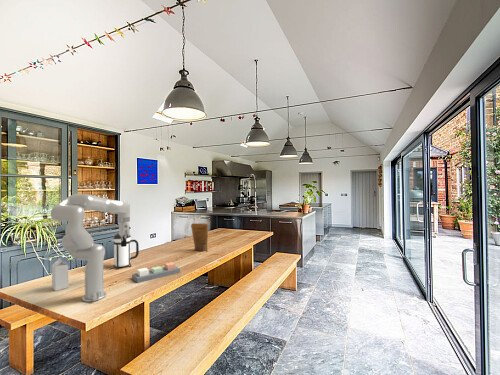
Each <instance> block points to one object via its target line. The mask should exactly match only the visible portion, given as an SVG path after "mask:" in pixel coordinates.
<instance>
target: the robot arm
mask: <svg viewBox="0 0 500 375" xmlns="http://www.w3.org/2000/svg"><path fill="white" fill-rule="evenodd" d="M130 206H131V204H130V203H129V202H128V201H127V202H125V201H121V200H118V199H117V200H116V199H110V198H105V197H100V196H96V195H92V194H90V193H89V194H87V193H82V194H81V193H78V194H75V193H74V194H72V195H70V196H67V197H66V198H64V199H63V200H62V201H60V202H59V203H57V204H56V205H54V206H53V207H52V208H51V209H50V217H51V219H52V220H54V221H58V222H67V224H66V226H65V230H64V232H65V235H63V237H62V239H61V245H62V248H63V250H64V251H66V252H67V254H69V255H70V256H71V257H72V258H74V259H75V260H79V261H87V263H86V264H85V266H84V295H82V297H81V300H82V302H85V303H89V302H96V301H99V300H103V299H104V298H106V296H107V293H108V292H107V291H105V290H104V282H105V281H104V260H105V254H106V249H105V246H103V245H102V244H98V243H94V242H95V241H94V238H93V237H92V236H91V234H90V233H89V232H88V231H87V230H86V228H85V227H84V219H85V216H86V214H85V211H86V210H87V211H88V210H89V211H95V212H100V213H101V212H102V213H108V214H113V215H117V223H119V224H118V233H119V235H120V236H121V246H122V247H124V246H127V236H131V234H130V232H131V230H130V221H131V207H130Z"/></svg>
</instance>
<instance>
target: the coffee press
mask: <svg viewBox="0 0 500 375" xmlns="http://www.w3.org/2000/svg"><path fill="white" fill-rule="evenodd" d="M131 237H132V236H131V235H130V236H127V246H124V247H122V246H121V236H120V235H119V232H118V233H115V234H114V236H112V239H111V242H113V267H115V269H116V270H119V269H120V267H126V266H127V267H129V268H131V267H132V264H131V260H134V259H136V258H138V256H139V254H140V253H139V252H140V249H139V242H138V240H136V239H131ZM131 243H135V251H136V252H135V255H134V256H131Z"/></svg>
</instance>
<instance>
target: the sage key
mask: <svg viewBox="0 0 500 375" xmlns="http://www.w3.org/2000/svg"><path fill="white" fill-rule="evenodd" d="M150 270H151V272H153V273H158V272H162V266H153V267H151V268H150Z"/></svg>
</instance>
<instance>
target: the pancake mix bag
mask: <svg viewBox="0 0 500 375" xmlns="http://www.w3.org/2000/svg"><path fill="white" fill-rule="evenodd" d="M190 227H191V234H192V240H193V245H194V251H195V250H196V252H203V251H206V252H208V251H209V250H208V239H209V237H208V235H209V232H208V230H209V224H208V223H193V222H192V223H191V224H190Z"/></svg>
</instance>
